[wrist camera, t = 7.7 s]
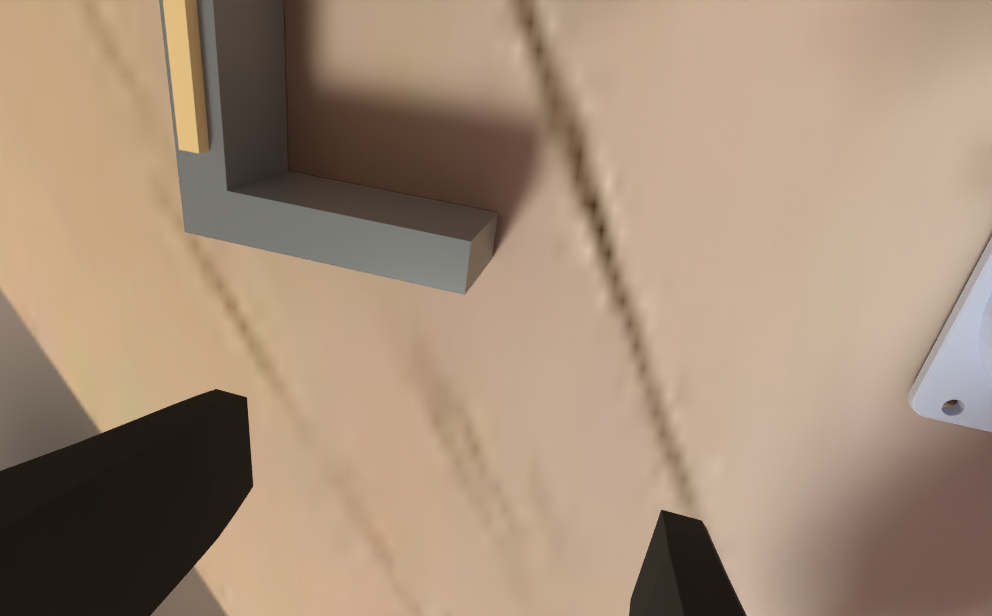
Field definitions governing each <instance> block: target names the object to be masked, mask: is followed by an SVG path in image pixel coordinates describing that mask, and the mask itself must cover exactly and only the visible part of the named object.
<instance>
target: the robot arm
mask: <svg viewBox="0 0 992 616" xmlns="http://www.w3.org/2000/svg"><path fill="white" fill-rule="evenodd" d="M907 399H908V402H909V405H910V406H911V407H912V409H913V410H914V411H915V412H916V413H917V414H918V415H921V416H923V417H927V418H931V419H936V420H940V421H944V422H949V423H953V424H957V425H962V426H966V427H971V428H975V429H979V430H984V431H988V432H992V237H991V239H990V241H989V243H988V245H987V246H986V248H985V250H984V252H983V254H982V256H981V258H980V260H979V261H978V263H977V265H976V267H975V269H974V271H973V273H972V275H971V276H970V278H969V280H968V282H967V284H966V286H965V288H964V290H963V292H962V293H961V295H960V297H959V299H958V301H957V303H956V305H955V307H954V308H953V310H952V312H951V314H950V316H949V318H948V320H947V322H946V323H945V325H944V327H943V329H942V331H941V333H940V335H939V337H938V339H937V340H936V342H935V344H934V346H933V348H932V350H931V352H930V354H929V355H928V357H927V359H926V361H925V363H924V365H923V367H922V369H921V371H920V372H919V374H918V376H917V378H916V380H915V382H914V384H913V386H912V387H911V389H910V391H909V394H908V398H907ZM949 400H957V403H956V404H955V405H954V406H952V407H949V408H942V406H943V404H944V403H945V402H947V401H949ZM252 487H253V477H252V463H251V449H250V435H249V421H248V407H247V397H243V396H240V395H236V394H232V393H229V392H225V391H221V390H218V389H215V390H212V391H209V392H206V393H203V394H200V395H198V396H195V397H192V398H189V399H187V400H184V401H182V402H179V403H176V404H174V405H171V406H169V407H166V408H164V409H161V410H159V411H156V412H154V413H151V414H149V415H146V416H144V417H141V418H139V419H136V420H134V421H131V422H129V423H126V424H124V425H121V426H119V427H116V428H114V429H111V430H109V431H106V432H104V433H101V434H98V435H96V436H93V437H91V438H88V439H86V440H84V441H81V442H78V443H76V444H73V445H71V446H68V447H65V448H62V449H60V450H57V451H54V452H51V453H49V454H46V455H43V456H41V457H38V458H35V459H32V460H30V461H27V462H24V463H21V464H18V465H16V466H13V467H10V468H7V469H5V470H2V471H0V616H150V615H151V614H152V613H153V612H154V611H155V609H156V608H157V607H158V606H159V605H160V604H161V603H162V601H163V600H164V599H165V598H166V597H167V596H168V595H169V594H170V592H171V591H172V590H173V589H174V588H175V587H176V586H177V584H179V582H180V581H181V580H182V579H183V578H184V577H185V575H186V574H187V573H188V572H189V571H190V570H191V569H192V567H193V566H194V565H195V564H196V563H197V562H198V561H199V559H200V558H201V557H202V556H203V555H204V554H205V553H206V551H207V550H208V549H209V548H210V547H211V546H212V544H213V543H214V542H215V541H216V540H217V538H218V537H219V536H220V534H221V533H222V532H223V530H224V529H225V527H226V526H227V525H228V523H229V522H230V520H231V519H232V517H233V516H234V515H235V513H236V512H237V510H238V509H239V507H240V506H241V504H242V503H243V501H244V499H245V498H246V496H247V495H248V493H249V492H250V490H251V489H252ZM629 616H747V615H746V613H745V611H744V609H743V607H742V605H741V603H740V601H739V599H738V597H737V595H736V593H735V591H734V588H733V586H732V584H731V582H730V580H729V578H728V576H727V573H726V571H725V569H724V567H723V565H722V562H721V560H720V558H719V556H718V553H717V551H716V549H715V547H714V544H713V542H712V540H711V538H710V535H709V533H708V531H707V528H706V527H705V525H704V524H703V522H702V521H701V520H697V519H694V518H690V517H686V516H683V515H679V514H675V513H672V512H668V511H664V510H661V512H660V515H659V518H658V521H657V524H656V527H655V530H654V533H653V536H652V539H651V542H650V545H649V547H648V550H647V553H646V556H645V559H644V562H643V565H642V568H641V571H640V574H639V577H638V579H637V582H636V585H635V588H634V591H633V594H632V597H631V602H630V613H629Z"/></svg>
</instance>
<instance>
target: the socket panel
mask: <svg viewBox="0 0 992 616" xmlns="http://www.w3.org/2000/svg"><path fill="white" fill-rule="evenodd" d="M159 3H160V12H161V21H162V30H163V39H164V48H165V57H166V66H167V75H168V84H169V93H170V102H171V111H172V120H173V129H174V138H175V147H176V156H177V165H178V174H179V183H180V192H181V201H182V210H183V219H184V228H185V232H187V233H191V234H196V235H200V236H204V237H209V238H213V239H218V240H222V241H227V242H231V243H236V244H240V245H245V246H249V247H254V248H258V249H263V250H267V251H272V252H276V253H280V254H285V255H289V256H294V257H298V258H303V259H307V260H312V261H316V262H321V263H325V264H330V265H334V266H339V267H343V268H348V269H352V270H356V271H361V272H365V273H370V274H374V275H379V276H383V277H388V278H392V279H397V280H401V281H406V282H410V283H415V284H419V285H424V286H428V287H432V288H437V289H441V290H446V291H450V292H455V293H459V294H464V295H465V294H466V292H467V291H468V290H469V288H470V287H471V286H472V285H473V283H474V282H475V281H476V279H477V278H478V277H479V275H480V274H481V273H482V271H483V270H484V269H485V267H486V266H487V265H488V263H489V262H490V261H491V260H492V256H493V248H494V241H495V234H496V226H497V219H498V212H494V211H489V210H484V209H478V208H473V207H468V206H463V205H458V204H453V203H448V202H443V201H438V200H433V199H428V198H423V197H418V196H413V195H408V194H403V193H398V192H392V191H387V190H382V189H377V188H372V187H367V186H362V185H357V184H352V183H347V182H342V181H337V180H332V179H327V178H322V177H317V176H311V175H306V174H301V173H296V172H291V171H288V148H287V112H286V75H285V39H284V2H283V0H159Z"/></svg>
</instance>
